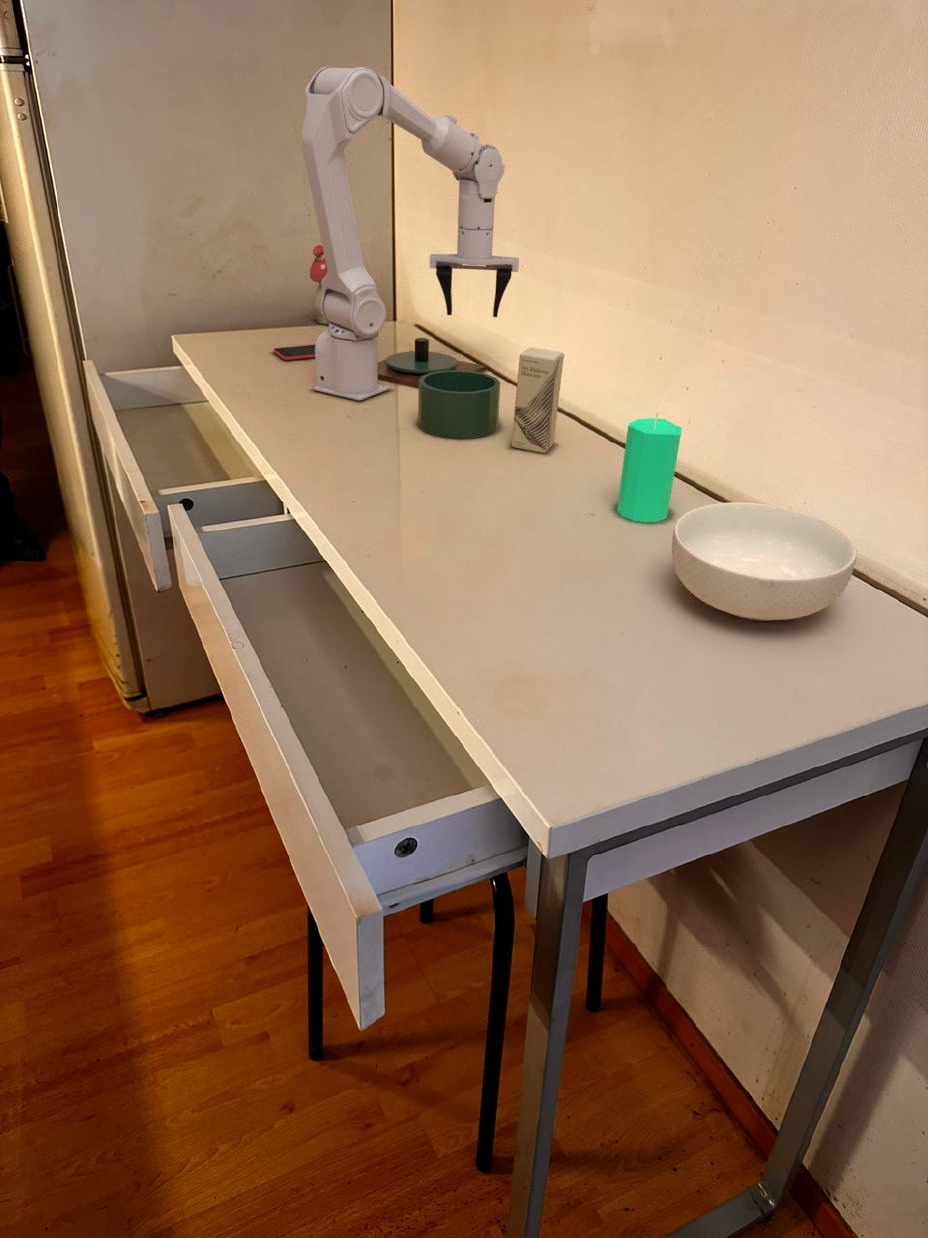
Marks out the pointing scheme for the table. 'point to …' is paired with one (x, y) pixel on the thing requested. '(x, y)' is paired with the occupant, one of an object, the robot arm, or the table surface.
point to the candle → (648, 469)
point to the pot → (458, 404)
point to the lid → (421, 360)
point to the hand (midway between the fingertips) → (472, 314)
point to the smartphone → (296, 352)
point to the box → (537, 399)
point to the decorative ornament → (317, 275)
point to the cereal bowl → (761, 559)
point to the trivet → (413, 378)
